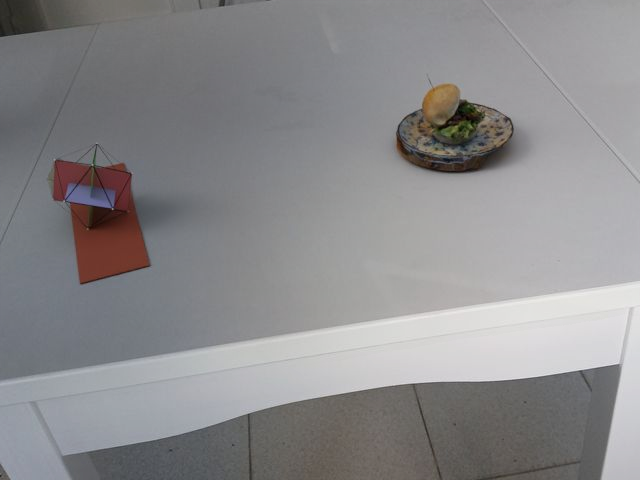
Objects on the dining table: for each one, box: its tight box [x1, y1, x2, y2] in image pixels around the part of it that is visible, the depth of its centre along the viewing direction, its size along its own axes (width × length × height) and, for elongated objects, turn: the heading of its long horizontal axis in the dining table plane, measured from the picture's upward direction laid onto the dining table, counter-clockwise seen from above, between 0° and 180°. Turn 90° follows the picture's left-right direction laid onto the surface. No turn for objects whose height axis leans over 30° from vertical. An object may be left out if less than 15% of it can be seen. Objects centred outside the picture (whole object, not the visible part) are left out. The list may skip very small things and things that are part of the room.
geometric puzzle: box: [46, 142, 134, 230], centre depth 67 cm, size 7×7×8 cm
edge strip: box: [69, 162, 150, 285], centre depth 70 cm, size 6×20×1 cm, turn 19°
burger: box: [395, 74, 515, 172], centre depth 72 cm, size 12×12×8 cm
